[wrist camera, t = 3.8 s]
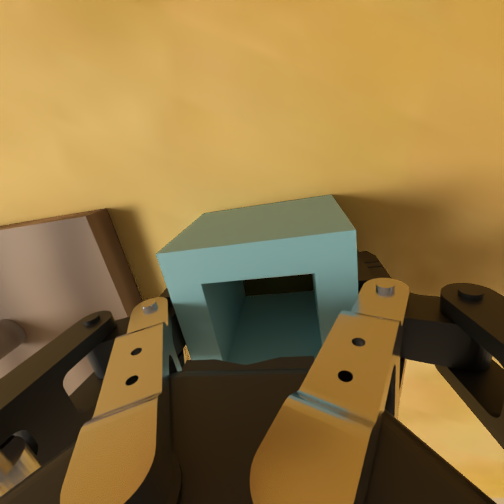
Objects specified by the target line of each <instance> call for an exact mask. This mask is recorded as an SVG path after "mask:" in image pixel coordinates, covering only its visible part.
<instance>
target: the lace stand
mask: <svg viewBox="0 0 504 504" xmlns="http://www.w3.org/2000/svg"><path fill="white" fill-rule="evenodd" d="M141 302H142V300H141V297H140V294H139V292H138V289H137V287H136V284H135V281H134V279H133V276H132V274H131V271H130V268H129V266H128V263H127V261H126V258H125V256H124V253H123V250H122V248H121V245H120V243H119V240H118V237H117V235H116V232H115V230H114V227H113V224H112V222H111V219H110V217H109V214H108V211H107V209H100V210H94V211H88V212H82V213H76V214H70V215H64V216H58V217H52V218H46V219H40V220H33V221H27V222H21V223H15V224H9V225H3V226H0V379H1V378H2V377H3V376H5V375H6V374H8V373H9V372H10V371H12V370H13V369H14V368H16V367H17V366H18V365H20V364H21V363H22V362H24V361H25V360H26V359H28V358H29V357H31V356H32V355H33V354H35V353H36V352H37V351H39V350H40V349H41V348H43V347H44V346H45V345H47V344H48V343H49V342H51V341H52V340H53V339H55V338H56V337H58V336H59V335H60V334H62V333H63V332H64V331H66V330H67V329H68V328H70V327H71V326H72V325H74V324H75V323H76V322H78V321H79V320H81V319H82V318H84V317H86V316H88V315H90V314H92V313H95V312H98V311H105V310H106V311H110V312H111V313H112V315H113V318H114V320H119V319H123V318H126V317H130V316H131V312H132V310H133V309H134V307H136V306H137V305H138V304H140V303H141ZM93 372H94V370H93V368H92V366H91V365H90V363H89V361H88V359H87V357H86V356H85V357H84V358H83V359H82V360H81V361H80V362H78V363H77V364H76V365H75V366H74V367H73V368H72V369H71V370H70V371H69V372H68V373H67V374H66V376H65V378H64V380H63V387H64V389H65V391H66V392H67V394H68V396H70V395H71V394H72V393H73V392H74V391H75V390H76V389H77V388H78V387H79V386H80V385H81V384H82V383H83V382H84V381H85V380H86V379H87V378H88V377H89V376H90V375H91V374H92V373H93Z"/></svg>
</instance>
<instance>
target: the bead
mask: <svg viewBox="0 0 504 504" xmlns="http://www.w3.org/2000/svg"><path fill="white" fill-rule="evenodd" d="M156 256H157V259H158V262H159V265H160V268H161V271H162V274H163V277H164V280H165V283H166V286H167V289H168V292H169V295H170V298H171V301H172V304H173V307H174V310H175V313H176V316H177V319H178V322H179V325H180V328H181V331H182V334H183V336H184V339H185V342H186V345H187V348H188V351H189V354H190V357H191V360H210V359H217V360H222V361H227V362H232V363H237V364H243V365H248V364H253V363H257V362H261V361H265V360H270V359H274V358H278V357H296V356H314V361H315V359H316V357H317V355H318V353H319V351H320V349H321V347H322V346H323V344H324V342H325V340H326V338H327V336H328V334H329V332H330V331H331V329H332V327H333V325H334V323H335V321H336V319H337V317H338V316H339V314H340V312H341V311H342V310H346V311H351V309H352V307H353V305H354V303H355V301H356V299H357V297H358V295H359V294H358V267H357V240H356V229H355V228H354V226H353V225H352V223H351V222H350V220H349V219H348V218H347V216H346V215H345V213H344V212H343V210H342V209H341V207H340V206H339V205H338V203H337V202H336V200H335V199H334V197H333V196H332V195H325V196H318V197H311V198H305V199H298V200H291V201H284V202H277V203H271V204H264V205H257V206H250V207H244V208H237V209H230V210H223V211H216V212H210V213H204V214H202V215H201V216H200V217H199V218H198V219H197V220H195V221H194V222H193V223H192V224H191V225H189V226H188V227H187V228H186V229H185V230H184V231H182V232H181V233H180V234H179V235H178V236H176V237H175V238H174V239H173V240H172V241H171V242H169V243H168V244H167V245H166V246H165V247H164V248H162V249H161V250H160V251H159V252H158V253H156ZM302 274H312V279H313V288H314V291H302V292H290V293H278V294H265V295H253V296H246V294H245V289H244V284H243V280H249V279H260V278H270V277H281V276H292V275H302Z"/></svg>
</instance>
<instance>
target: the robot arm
mask: <svg viewBox="0 0 504 504" xmlns="http://www.w3.org/2000/svg"><path fill="white" fill-rule="evenodd" d="M357 267H358V294H359V295H358V297H357V299H356V301H355V303H354V305H353V307H352V309H351V311H346V310H342V311H341V312H340V314H339V316H338V317H337V319H336V321H335V323H334V325H333V327H332V329H331V331H330V332H329V334H328V336H327V338H326V340H325V342H324V344H323V346H322V347H321V349H320V351H319V353H318V355H317V357H316V359H315V361H314V356H296V357H278V358H274V359H270V360H265V361H261V362H257V363H253V364H248V365H243V364H237V363H232V362H227V361H222V360H217V359H210V360H187V359H186V353H185V350H184V346H185V345H186V342H185V339H184V336H183V334H182V331H181V328H180V325H179V322H178V319H177V316H176V313H175V310H174V307H173V304H172V301H171V298H170V295H169V292H168V289H167V288H166V290H165V291H164V292H163V293H162V294H161V296H160V297H155V298H151V299H148V300H145V301H143V302H141V303H140V304H138V305H137V306H136V307H134V309H133V310H132V312H131V316H130V317H126V318H123V319H119V320H114V318H113V315H112V313H111V312H110V311H106V310H105V311H98V312H95V313H92V314H90V315H88V316H86V317H84V318H82V319H81V320H79V321H78V322H76V323H75V324H74V325H72V326H71V327H70V328H68V329H67V330H66V331H64V332H63V333H62V334H60V335H59V336H58V337H56V338H55V339H53V340H52V341H51V342H49V343H48V344H47V345H45V346H44V347H43V348H41V349H40V350H39V351H37V352H36V353H35V354H33V355H32V356H31V357H29V358H28V359H26V360H25V361H24V362H22V363H21V364H20V365H18V366H17V367H16V368H14V369H13V370H12V371H10V372H9V373H8V374H6V375H5V376H3V377H2V378H1V379H0V504H496V503H495V502H494V501H493V500H492V499H491V498H489V497H488V496H487V495H486V494H485V493H483V492H482V491H481V490H480V489H479V488H478V487H476V486H475V485H474V484H473V483H472V482H470V481H469V480H468V479H467V478H466V477H465V476H463V475H462V474H461V473H460V472H459V471H457V470H456V469H455V468H454V467H453V466H452V465H450V464H449V463H448V462H447V461H446V460H444V459H443V458H442V457H441V456H440V455H439V454H437V453H436V452H435V451H434V450H433V449H431V448H430V447H429V446H428V445H427V444H426V443H424V442H423V441H422V440H421V439H420V438H419V437H417V436H416V435H415V434H414V433H413V432H411V431H410V430H409V429H408V428H407V427H406V426H404V425H403V424H402V423H401V422H400V421H398V412H399V403H400V396H401V390H402V384H403V378H404V372H405V366H406V360H407V359H409V360H414V361H419V362H424V363H430V364H435V366H436V368H437V370H438V371H439V372H440V374H441V375H442V376H443V377H444V378H445V380H446V381H447V382H448V383H449V384H450V386H451V387H452V388H453V389H454V390H455V391H456V393H457V394H458V395H459V396H460V397H461V399H462V400H463V401H464V402H465V403H466V405H467V406H468V407H469V408H470V409H471V411H472V412H473V413H474V414H475V415H476V417H477V418H478V419H479V420H480V421H481V423H482V424H483V425H484V426H485V427H486V429H487V430H488V431H489V432H490V433H491V435H492V436H493V437H494V438H495V439H496V441H497V442H498V443H499V444H500V445H501V447H502V448H503V449H504V369H502V368H501V367H500V366H499V365H498V364H497V363H496V362H495V361H493V360H492V356H493V357H495V358H496V359H497V360H498V361H499V362H500V363H501V365H502V366H503V368H504V296H502V295H500V294H499V293H497V292H495V291H493V290H491V289H489V288H487V287H483V286H480V285H475V284H468V283H455V284H449V285H446V286H445V287H443V288H442V290H441V297H435V296H424V295H417V294H413V293H410V289H409V287H408V285H407V284H405V283H404V282H402V281H399V280H396V279H392V278H391V277H390V276H389V274H388V273H387V271H386V270H385V269H384V267H383V266H382V264H381V263H380V262H379V260H378V259H377V257H376V256H375V255H373V254H371V253H369V252H367V251H364V252H358V250H357ZM85 356H86V357H87V359H88V361H89V363H90V365H91V366H92V368H93V370H94V372H93V373H92V374H91V375H90V376H89V377H88V378H87V379H86V380H85V381H84V382H83V383H82V384H81V385H80V386H79V387H78V388H77V389H76V390H75V391H74V392H73V393H72V394H71V395H70V396H68V394H67V392H66V391H65V389H64V387H63V380H64V378H65V376H66V374H67V373H68V372H69V371H70V370H71V369H72V368H73V367H74V366H75V365H76V364H77V363H78V362H80V361H81V360H82V359H83V358H84V357H85Z"/></svg>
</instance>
